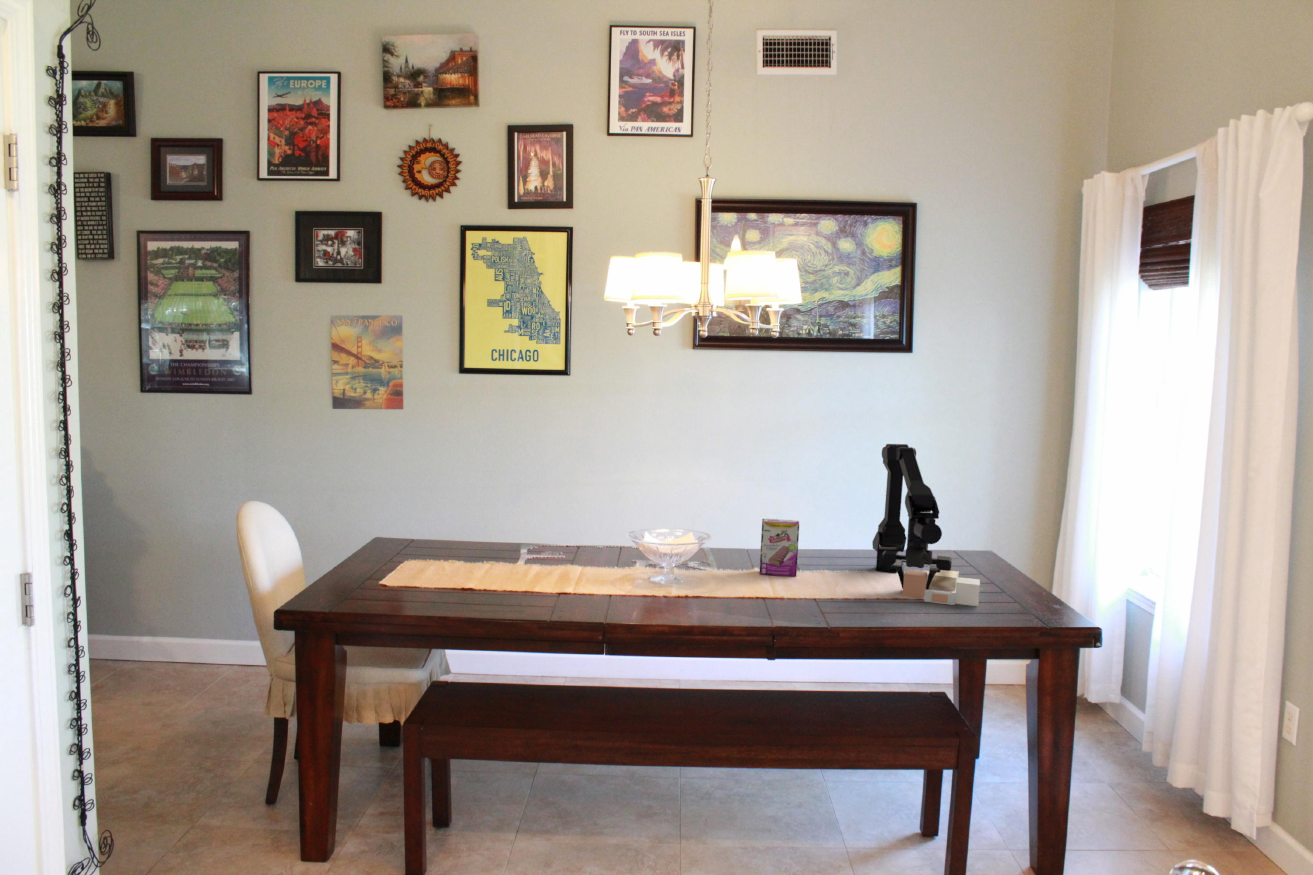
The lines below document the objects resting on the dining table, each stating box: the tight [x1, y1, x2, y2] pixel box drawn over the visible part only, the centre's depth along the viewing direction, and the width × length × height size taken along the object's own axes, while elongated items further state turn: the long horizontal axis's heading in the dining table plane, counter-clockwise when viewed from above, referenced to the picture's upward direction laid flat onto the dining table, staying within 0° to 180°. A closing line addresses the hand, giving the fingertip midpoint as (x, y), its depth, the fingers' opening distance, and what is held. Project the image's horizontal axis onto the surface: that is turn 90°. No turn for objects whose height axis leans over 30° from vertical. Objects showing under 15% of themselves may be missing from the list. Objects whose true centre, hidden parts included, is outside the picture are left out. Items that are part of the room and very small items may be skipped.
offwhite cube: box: [955, 577, 981, 607], centre depth 249 cm, size 6×6×6 cm
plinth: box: [923, 589, 956, 606], centre depth 247 cm, size 8×2×3 cm, turn 70°
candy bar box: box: [759, 518, 800, 577], centre depth 272 cm, size 11×5×16 cm, turn 84°
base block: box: [927, 570, 960, 591], centre depth 265 cm, size 8×8×4 cm
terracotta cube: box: [902, 568, 929, 599], centre depth 255 cm, size 6×6×6 cm
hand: (914, 590), depth 256 cm, fingers closed on terracotta cube, 6 cm apart
